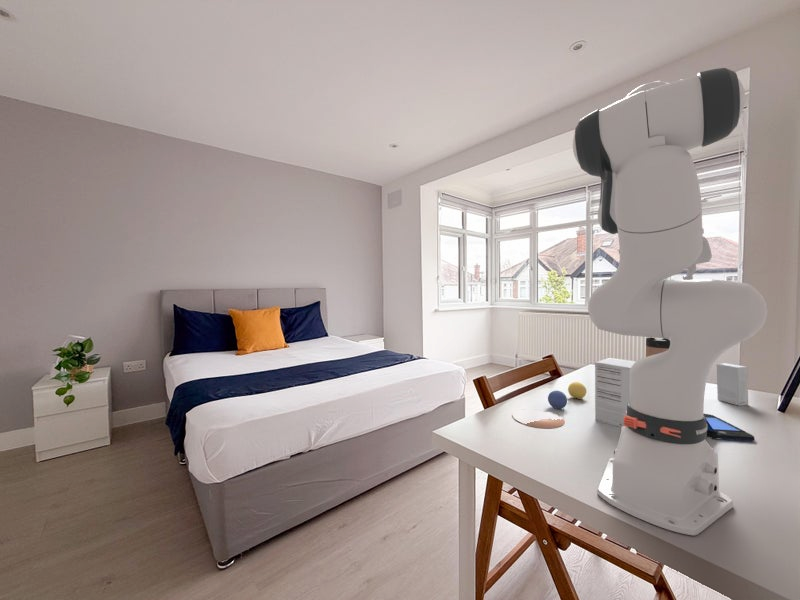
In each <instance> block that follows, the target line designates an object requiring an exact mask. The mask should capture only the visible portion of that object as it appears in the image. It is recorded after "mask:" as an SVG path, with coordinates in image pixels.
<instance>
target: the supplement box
mask: <svg viewBox="0 0 800 600" xmlns="http://www.w3.org/2000/svg"><path fill="white" fill-rule="evenodd" d="M635 362H637V361H635V360H629V359H623V358H615V357H607V358H605V359H601V360H598V361H595V362H594V374H595V375H594V388H595V389H594V391H595V392H594V393H595V394H594V395H595V396H594V401H595V402H594V412H595V413H594V414H595V415H594V417H595V419H594V420H595V421H597V422H601V423H604V424H608V425H611V426H615V427H618V428H621V427H623V426H624V422H623V421H624V417H625V413H626V409H627V404H628V403H629V386H630V369H631V367H632V366H633V364H634V363H635Z"/></svg>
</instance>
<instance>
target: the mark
mask: <svg viewBox="0 0 800 600" xmlns="http://www.w3.org/2000/svg"><path fill="white" fill-rule="evenodd" d="M563 424H564V425H565V419H564V418H563V419H561V420H560V419H557V420H555V419H554V420H552V419H550V418H549V419H541V420H539V421H534V422H530V423H527V424H526V425H525V426H527V425H529V426H528V427H531V426H533V427H532V428H537V427H538V429H556V427H557V428H560V427H562V426H563ZM559 426H560V427H559Z"/></svg>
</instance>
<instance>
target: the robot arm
mask: <svg viewBox="0 0 800 600" xmlns="http://www.w3.org/2000/svg"><path fill="white" fill-rule="evenodd" d="M745 102H746V93H745V88H744V86H743V83H742V81H741V80H740V79H739V78H738V75H737V73H736V71H733V70H731V69H729V68H726V67H720V68H719V67H718V68H713V69H708V70H703V71H700V72H698V73H697V74H696V75H694V76H690V77H687V78H683V79H679V80H676V81H672V82H666V81H660V80H657V81H652V82H651V81H650V82H648V83H645V84H642V85H640V86H638V87H636V88H635V89H633V90H632V91H631V92H629V93H627V95H626V96H625V97H624V98H623V99H620V100H617V101H616V102H614V103H612V104H609V105H608V106H606V107H604V108H602V109H599V108H597V109H596V110H594V111H592V112H590V113H589V114H587V115H585V116H584V117H582V118H580V119H579V121H578V123H577V125H576V126H575V129H574V136H573V139H572V151H573V154H574V155H573V156H574V158H575V160H576V162H577V163H578V165H579V166H580V169H581V170H583V171H584V173H587V174H589V176H593V177H599V178H600V196H599V205H598V209H597V221H598V224H599V226H600V228H601V230H602V231H603V232H606V233H608V234H611V235H616V234H617V235H618V246H619V249H618V253H619V254H618V255H619V261H618V266H617V268H616V271H615V272H614V274H613V275H612V277H610V278H609V279H608V280H607V281H605V282H604V283H603V284H601V285H598V287H597V288H596V289H594V291H593V293H591V295H590V297H589V300H588V305H587V311H588V315H589V318H590V321H591V322H592V324H593V325H594V326H595V327H596V328H597V329H598V330H601V331H605V332H608V333H613V334H617V335H621V336H631V337H633V336H634V337H641V338H642V337H643V338H655V339H658V338H659V339H663V338H665V339H668V340H670V347H669V349H668V350H666V351H665V352H662V353H659V354H655V355H651V356H648V357H646V356H645V357H643V358H641V359H639V360H637V361H636V362H635V363H634V364H633V366H632V367H631V369H630V386H629V403H628V404H627V409H626V413H625V417H624V421H623V422H624V426H623V427H620V430H621V431H620V432H621V433H620V436H619V439H618V443H617V446H616V449H614V451H613V455H614V457H609V459H608V460H607V464H606V465H605V466H606V467H605V468H604V472H603V474H602V475H601V479H600V481H599V485H598V487H597V495H598V496H599V497H600V498H602V500H604V501H605V502H606V503H609V504H610V505H611V506H612V507H615V508H617V509H619V510H621V511H623V512H625V513H627V514H629V515H631V516H633V517H635V518H637V519H639V520H642V521H644V522H647V523H648V524H652V525H654V526H657V527H659V528H663V529H665V530H667V531H671V532H673V533H674V532H675V533H679V534H684V535H687V536H688V535H689V536H697V535H699V534H700V533H702V532H703V531H704V530H706V529H707V528H708V527H709V526H710V525H712V524H713V523H714V522H716V521H717V520H718V519H719V518H721V517H722V516H723V515H724V514H726V513H727V512H728V511H729V510H731V509H733V508H734V503H733V499H732V498H731V497H730V496H729V495H727V494H725V493H723V492H722V491H720V475H719V473H720V472H719V455H718V453H717V451H716V450H715V449H714V448H712V447H711V446H710V444H709V443H708V442H707V440H706V439H707V437H708V436H707V429H708V427H707V422H706V417H705V416H704V415H703V414H704V406H705V404H704V403H705V391H706V385H707V381H708V380H707V379H708V376H709V373H710V372H711V371H710V370H711V369H712V368H713V365H714V364H715V362H717V361H718V359H719V358H720V357H721V356H722V355H723V354H724V353H725V352H727V351H728V350H729V349H731V348H733V347H735V346H736V345H738V344H740V343H742V342H745V341H747V340H749V339H750V338H752V337H753V336H755V335H756V334H758V332H760V330H761V329H762V328H763V326H765V323H766V320H767V318H768V306H767V303H766V300H765V298H764V297H763V295H762V294H761V293H760V291H758V290H757V288H755V287H754V286H753V285H751V284H750V283H746V282H738V281H731V280H723V279H722V280H721V279H714V278H713V279H712V278H711V279H705V278H704V279H694V276H693V275H694V273H695V272H696V270H697V265H699V264H705V263H708V262H710V261H711V259H712V257H713V256H712V255H713V254H712V250H711V246H710V243H709V241H708V239H707V237H705V236H703V235H704V233H705V231H704V228H703V213H702V212H703V211H702V210H703V209H702V208H703V207H702V196H701V188H700V184H699V178H698V173H697V171H696V166H695V163H694V160H693V158H692V155H691V154H690V152H689V150H690V151H691V150H692V149H696V148H698V147H700V146H701V147H702V148H703V147H707V146H709V145H711V144H714V143H717V142H718V141H721V140H723V139H725V138H727V137H728V136H729V135H730V134H731V133H732V132H733V131H734V130H735V129H736V128H737V127H738V124H739V120H740V118H741V116H742V114H743V111H744V107H745ZM685 270H687V271H686V274H685V275H682V279H675V280H673V279H671V280H670V279H669V280H666V279H668V278H670V277H672V276H675V275H677V274H680V273H682V272H684V271H685Z"/></svg>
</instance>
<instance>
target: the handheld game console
mask: <svg viewBox="0 0 800 600" xmlns="http://www.w3.org/2000/svg"><path fill="white" fill-rule="evenodd" d="M703 415H704V416H705V417H706V422H707V427H708V429H707V437H708V438H710V439H713V440H726V441H727V440H728V441H738V442H739V441H741V442H742V441H743V442H744V441H745V442H753V441H755V436H754V435H753V434H751V433H749V432H746V431H745V430H743V429H741V428H739V427H738V426H735V425H733V424H731V423H730V422H727V421H726V420H723V418H722V419H721V418H720V417H717V416H715V415H713V414H709V413H703Z"/></svg>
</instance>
